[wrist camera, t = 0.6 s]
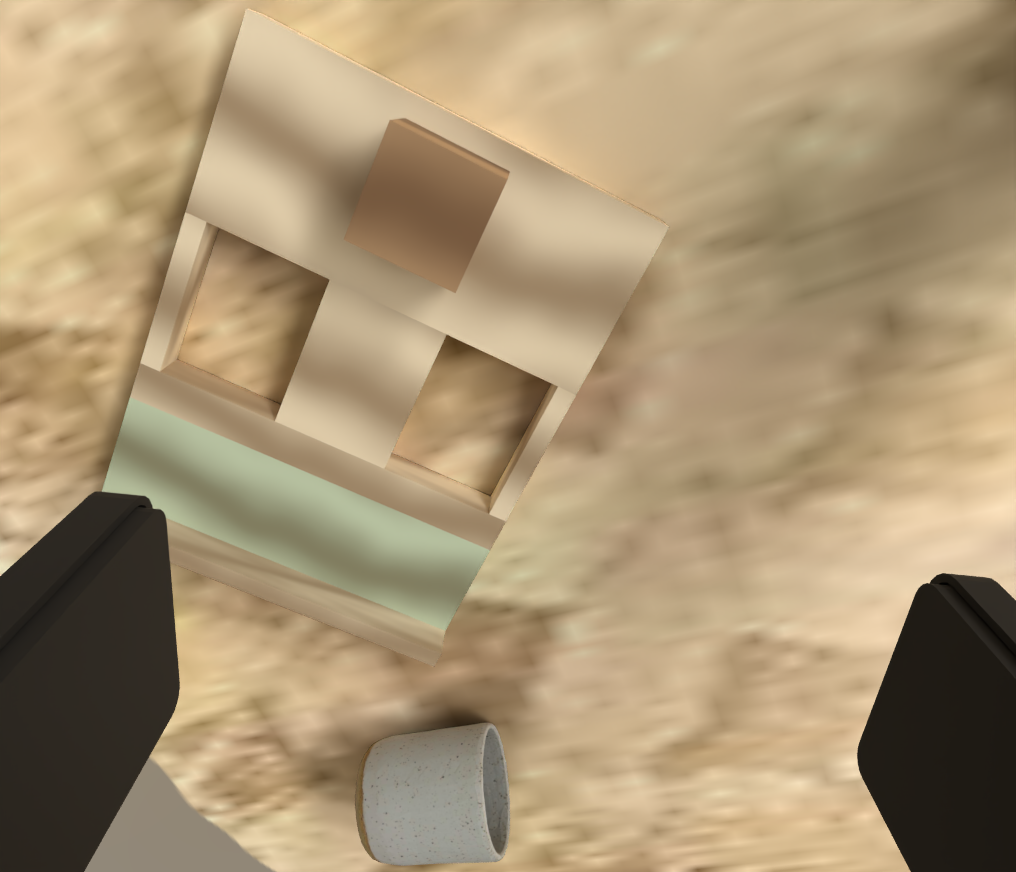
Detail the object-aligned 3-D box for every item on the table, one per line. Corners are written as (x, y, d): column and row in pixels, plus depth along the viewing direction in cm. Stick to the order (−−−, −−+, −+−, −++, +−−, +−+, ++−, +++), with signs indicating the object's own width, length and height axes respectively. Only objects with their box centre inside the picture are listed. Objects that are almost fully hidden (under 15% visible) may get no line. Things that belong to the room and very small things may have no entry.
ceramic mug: (364, 714, 49) (337, 819, 42) (488, 694, 48) (481, 798, 41) (410, 827, 53) (392, 939, 46) (525, 811, 52) (524, 923, 45)
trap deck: (262, 13, 33) (228, 2, 30) (662, 220, 36) (677, 233, 33) (115, 489, 43) (77, 525, 39) (441, 621, 46) (434, 667, 42)
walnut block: (405, 117, 33) (389, 119, 29) (509, 171, 34) (507, 179, 30) (363, 225, 35) (343, 239, 31) (463, 273, 36) (455, 293, 32)
